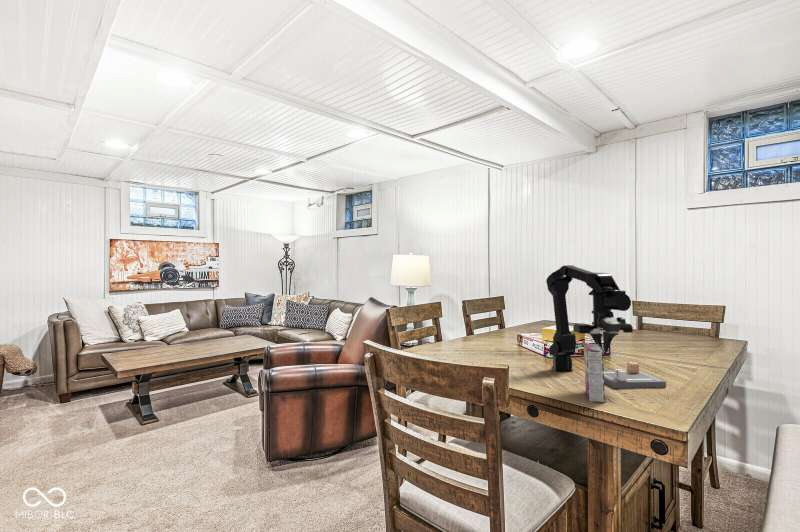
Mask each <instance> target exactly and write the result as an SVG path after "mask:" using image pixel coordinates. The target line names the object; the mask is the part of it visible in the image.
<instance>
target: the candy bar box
mask: <svg viewBox="0 0 800 532" xmlns="http://www.w3.org/2000/svg"><path fill="white" fill-rule="evenodd" d="M583 357H584V381H585V393H586V396H587V399H588V402H590V401H593V402H592V403H601V404H602V403H604V404H605V403H606V398H605V397H606V393H605V383H604V371H605V370H604V367H605V366H604V365H605V364H604V351H603V348H602V349H601V347H600V346H599V344H595V343H584V344H583Z"/></svg>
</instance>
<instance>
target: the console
mask: <svg viewBox="0 0 800 532" xmlns="http://www.w3.org/2000/svg"><path fill="white" fill-rule="evenodd" d="M624 370H625V371H627V369H624ZM604 384H606V385H608V386H609V385H610V386H609V387H611V388H612V389H639V388H640V389H641V388H643V389H644V388H648V389H649V388H650V389H651V388H667V381H666V380H664V379H661V378H659V377H657V376H654V375H651V374H650V373H647V372H645V371H642V370H640V369H639V373H632V372H630V371H627V381H620V380H618V379H616V378H615V369H614V370H604Z"/></svg>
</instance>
